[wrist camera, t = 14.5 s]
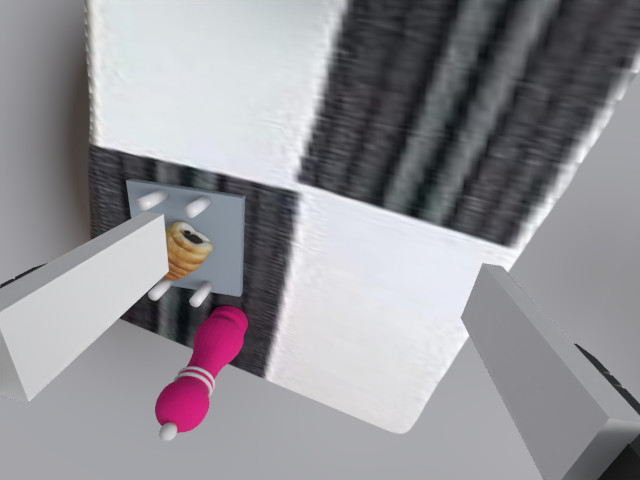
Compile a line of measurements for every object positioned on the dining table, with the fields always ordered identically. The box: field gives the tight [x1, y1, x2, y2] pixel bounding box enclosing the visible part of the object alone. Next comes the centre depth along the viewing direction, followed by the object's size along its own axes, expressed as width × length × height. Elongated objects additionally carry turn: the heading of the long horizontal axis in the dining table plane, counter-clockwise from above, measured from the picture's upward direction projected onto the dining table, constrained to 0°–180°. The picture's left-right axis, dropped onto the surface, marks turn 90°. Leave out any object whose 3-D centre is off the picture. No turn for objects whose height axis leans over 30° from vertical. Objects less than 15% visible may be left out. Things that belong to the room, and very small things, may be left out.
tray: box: [126, 179, 245, 307], centre depth 43 cm, size 16×16×6 cm
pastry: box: [163, 222, 213, 280], centre depth 44 cm, size 9×7×4 cm
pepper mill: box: [155, 305, 248, 441], centre depth 42 cm, size 7×7×20 cm
